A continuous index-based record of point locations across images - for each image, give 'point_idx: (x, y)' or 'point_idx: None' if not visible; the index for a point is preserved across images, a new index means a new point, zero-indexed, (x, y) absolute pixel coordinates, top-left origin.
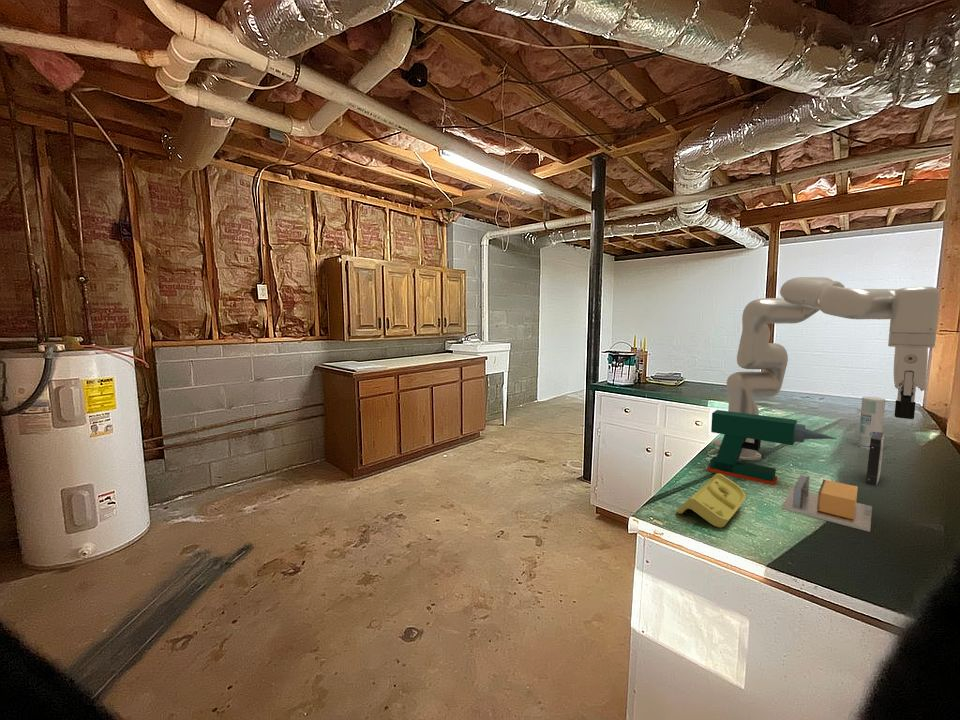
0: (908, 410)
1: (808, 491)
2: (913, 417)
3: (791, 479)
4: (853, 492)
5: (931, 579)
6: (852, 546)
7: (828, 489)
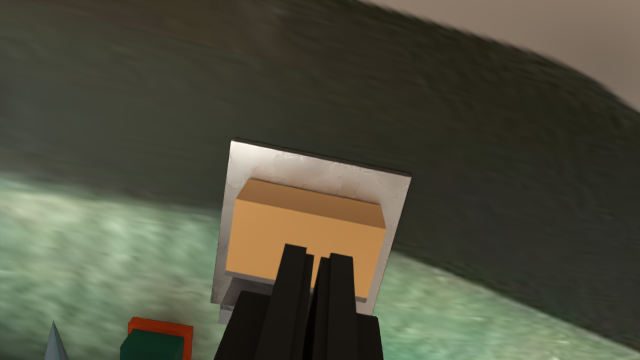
0: (380, 356)
1: (235, 277)
2: (352, 264)
3: (100, 285)
4: (308, 220)
5: (620, 111)
6: (514, 222)
7: None
